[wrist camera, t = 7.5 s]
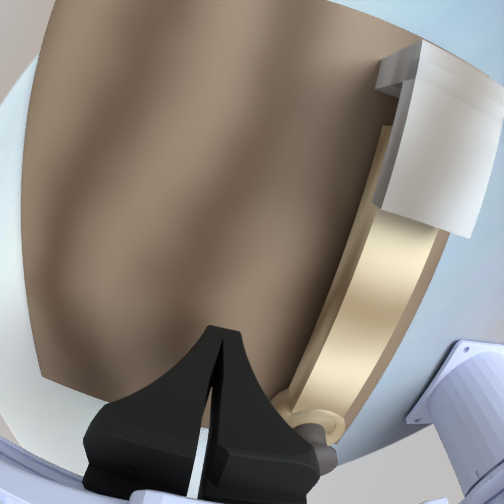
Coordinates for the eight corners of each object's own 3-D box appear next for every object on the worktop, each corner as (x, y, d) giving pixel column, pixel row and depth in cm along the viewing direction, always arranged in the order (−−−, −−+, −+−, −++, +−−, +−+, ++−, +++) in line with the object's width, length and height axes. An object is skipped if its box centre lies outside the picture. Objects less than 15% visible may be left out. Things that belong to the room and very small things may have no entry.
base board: (478, 77, 12) (541, 72, 7) (335, 433, 21) (345, 487, 16) (71, -12, 10) (18, -40, 6) (47, 368, 20) (17, 412, 15)
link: (323, 430, 19) (332, 485, 15) (259, 423, 19) (259, 481, 15) (449, 154, 12) (510, 170, 8) (367, 120, 12) (414, 118, 8)
